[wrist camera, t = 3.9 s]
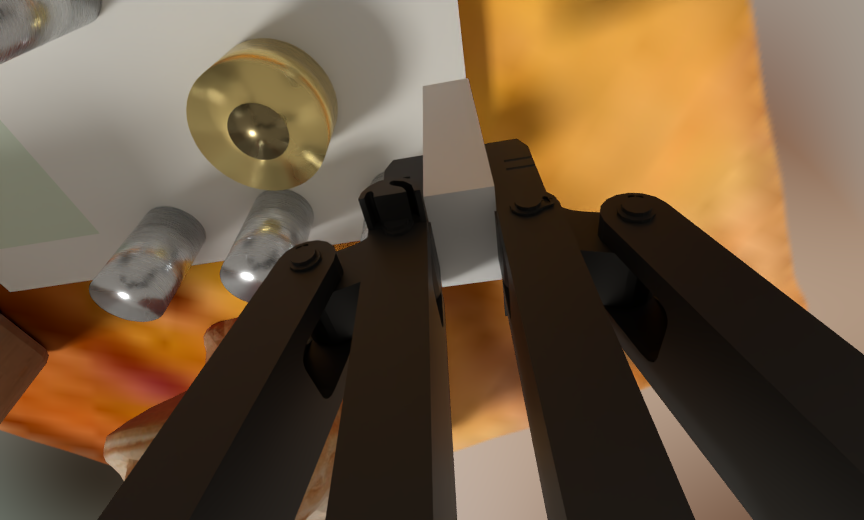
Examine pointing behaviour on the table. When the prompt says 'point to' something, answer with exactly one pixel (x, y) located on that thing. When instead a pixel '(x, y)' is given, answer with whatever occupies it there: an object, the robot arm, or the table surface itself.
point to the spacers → (163, 226)
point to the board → (168, 128)
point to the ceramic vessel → (141, 430)
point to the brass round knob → (263, 114)
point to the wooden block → (17, 364)
